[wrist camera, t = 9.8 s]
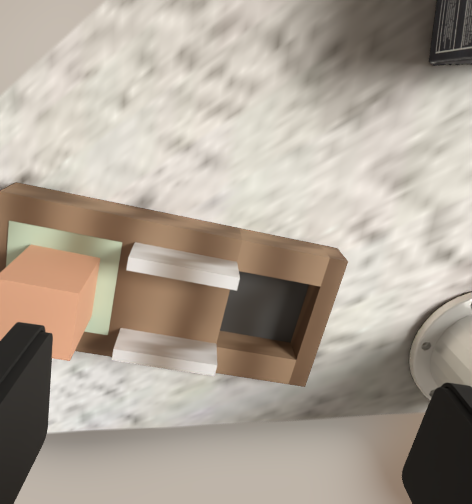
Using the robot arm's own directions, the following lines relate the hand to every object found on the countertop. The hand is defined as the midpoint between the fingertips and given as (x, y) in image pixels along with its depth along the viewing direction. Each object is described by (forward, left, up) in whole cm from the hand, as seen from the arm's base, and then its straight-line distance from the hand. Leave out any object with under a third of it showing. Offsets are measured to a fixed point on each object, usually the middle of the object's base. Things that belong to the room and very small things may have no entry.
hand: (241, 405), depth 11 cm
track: (+2, +9, -26) cm, 27 cm away
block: (+10, +9, -23) cm, 26 cm away
